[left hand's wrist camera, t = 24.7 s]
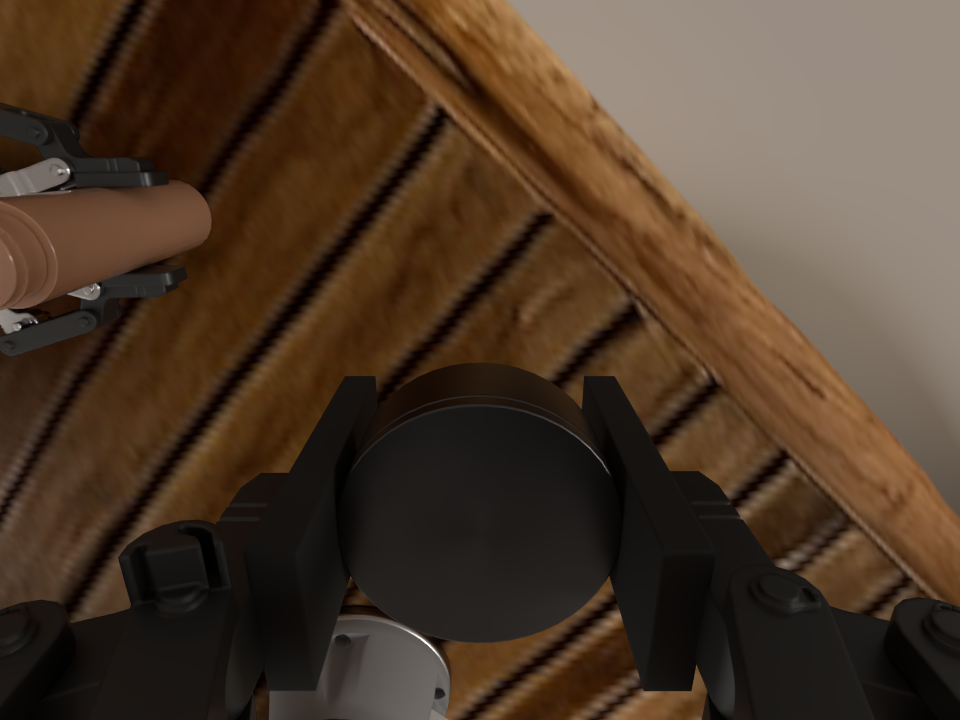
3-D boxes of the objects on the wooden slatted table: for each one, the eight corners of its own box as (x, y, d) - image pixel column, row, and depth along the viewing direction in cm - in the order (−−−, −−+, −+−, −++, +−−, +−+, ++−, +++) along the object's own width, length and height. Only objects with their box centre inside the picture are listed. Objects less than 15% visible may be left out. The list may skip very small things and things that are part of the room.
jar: (181, 165, 35) (-39, 180, 20) (226, 229, 36) (50, 287, 21) (126, 201, 36) (-126, 241, 21) (171, 262, 37) (-35, 340, 22)
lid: (579, 336, 11) (599, 374, 9) (618, 549, 13) (642, 617, 11) (324, 392, 12) (293, 440, 10) (397, 591, 13) (383, 664, 11)
